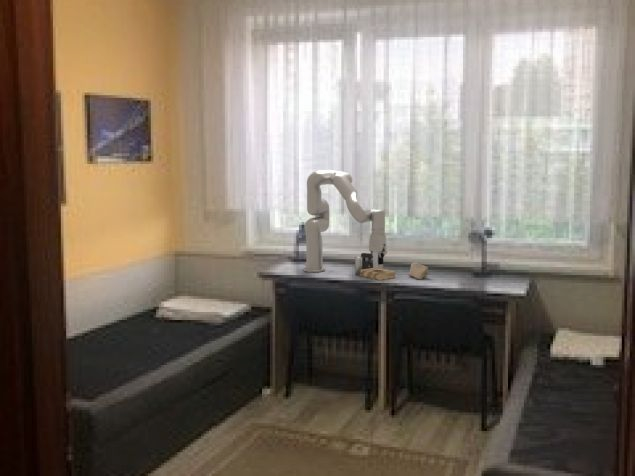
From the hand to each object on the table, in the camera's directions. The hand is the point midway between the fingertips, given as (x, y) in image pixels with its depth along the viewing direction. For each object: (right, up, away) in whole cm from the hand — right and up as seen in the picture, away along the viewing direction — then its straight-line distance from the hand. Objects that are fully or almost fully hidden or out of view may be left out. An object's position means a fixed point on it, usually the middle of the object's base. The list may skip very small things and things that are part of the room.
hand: (378, 263), depth 388 cm
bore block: (0, -8, +1) cm, 8 cm away
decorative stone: (+22, -8, -2) cm, 23 cm away
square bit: (0, -3, 0) cm, 3 cm away
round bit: (-10, -7, +9) cm, 15 cm away
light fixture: (-1, -5, +22) cm, 22 cm away
